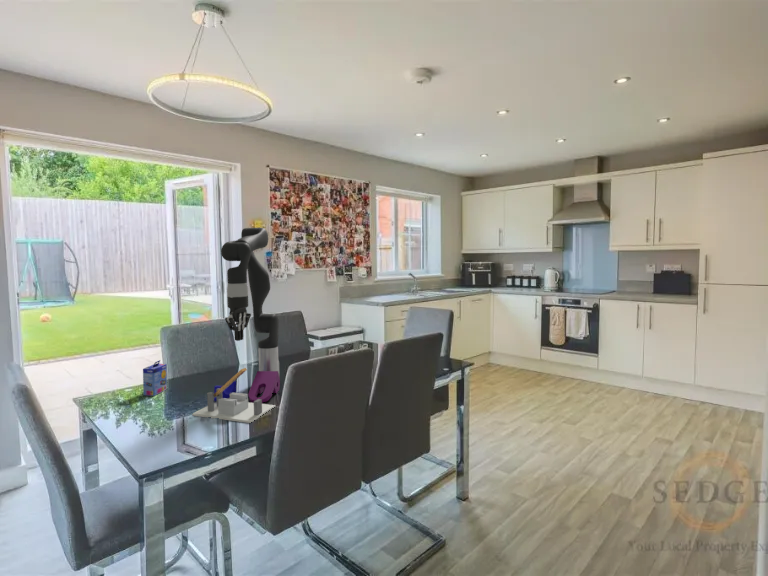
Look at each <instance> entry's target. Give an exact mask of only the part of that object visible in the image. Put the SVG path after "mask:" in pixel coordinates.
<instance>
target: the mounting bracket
mask: <svg viewBox="0 0 768 576" xmlns="http://www.w3.org/2000/svg"><path fill="white" fill-rule="evenodd" d="M280 388H281V380H280V372H279V373H278V371H259V370H257V372H256V374H255V377H254V379H253V381H252V384H251V386H250V389H249V391H248V393H247V394H248V401H250V402H251V403H254V401H256V400H257V399H262V404H264V403H263V402H265V403H266V402H268V401H270V399H271V398H272V396H273V394H272V393H276V394H275V395H277V394H278V393H279V392H278V391H280ZM262 392H263V393H262ZM277 392H278V393H277ZM261 393H262V395H261ZM258 394H260V395H261V396H260V397H258Z"/></svg>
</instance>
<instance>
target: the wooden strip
mask: <svg viewBox="0 0 768 576" xmlns="http://www.w3.org/2000/svg"><path fill="white" fill-rule="evenodd" d="M246 371H248V369H247V367H244V368H242V369H239V371H238V372H237V373H236V374H235V375H233V376H232V377H231V378H230V379H229V380H227V381H226V382H225V383H224V384H223V385H221V386H222V387H221V388H220V389H219V390H218V391H217V392H216V393H214V392H213V393H214V398H215V397H218V396H219V394H220V393H222V392H223V391H224V390H225V389H226V388H227V387H228V386H229V385H231V384H232V383H233V382H234V381H237V379H239V378H240V377H241V376H242V375H243V374H244V373H245V372H246Z"/></svg>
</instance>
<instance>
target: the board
mask: <svg viewBox="0 0 768 576" xmlns="http://www.w3.org/2000/svg"><path fill="white" fill-rule="evenodd" d="M219 389H220V388H217V389H216V392H217V391H218V390H219ZM248 394H249V393H241V392H236V393H232V394H230V397H229V398H223V394H222V393H220V394H219V396H218V397H216V399H217V401H214V391H212V392H211V391H209V392H207V393H206V397H207V405H206V406H204V407H203V408H201V409H199V410H197V411H195V412H193V413H192V416H193V417H203V418H208V417H211V419H215V418H219V419H218V420H226V421H230V422H231V421H232V422H240V423H248V424H251V422H252V423H253V422H254V420H255V421H256V420H258V419H260V418H261V417H263V416H264V415H266V414H267V413H269V412H270V411H272V410H273V409H272V408H274V407H275V408H276V404H268V403H262V399H257V400H256V401H254V403H252V402H251V401H250V402H249V395H248ZM275 408H274V409H275ZM271 409H272V410H271ZM269 410H270V411H269ZM268 411H269V412H268ZM266 412H267V413H266ZM265 413H266V414H265ZM263 414H264V415H263ZM262 415H263V416H262ZM260 416H261V417H260Z"/></svg>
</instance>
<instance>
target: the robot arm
mask: <svg viewBox="0 0 768 576" xmlns="http://www.w3.org/2000/svg"><path fill="white" fill-rule="evenodd" d="M268 243H269V234H268V231H267V230H266V228H264V227H245V228H242V230H241V235H240V238H238V239H237V240H231V241H226V242H225V243H224V244H222V247H221V249H220V255H221V257H222V259H224V260H225V261H227V262H239V264H238V265H237V266H234V267H229V268H228V269H227V271H226V272H227V275H226V276H227V278H226V279H227V287H226V298H227V299H226V300H227V301H226V302H227V303H226V304H227V308H228V309H229V313H228V314H229V315H228V316H225V318H224V321H225V322H226V324H227V326H228V328H229V330H231V331H233V332H234V333H233V335H234V341H237V342H238V341H239V342H240V341H243V340H244V336H245V335H244V330H245V328H248V325H249V322H250V319H251V315H253V316H252V317H253V325H254V330H255V332H256V333H259V334H269V335H268V337H266V338H264V339H261V340H259V341H258V344H257V349H258V371H278V373H279V374H280V361H279V323H280V321H279V316H278V314H275V313H263V305H264V303H265V301H266V299H267V297H268V295H269V293H270V290H271V280H270V276H269V273H268V271H267V270H266V268H265V267H264V265H262V264H261V262H260V261H259V260H258V259H257V257H256V255H255V253H254V251H257V250H259V249H264V248H267V246H268ZM248 284H249V288H248ZM249 291H250V295H251V303H252V313H253V314H252V313H249V312H248V310H247V308H248V307H249Z"/></svg>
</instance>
